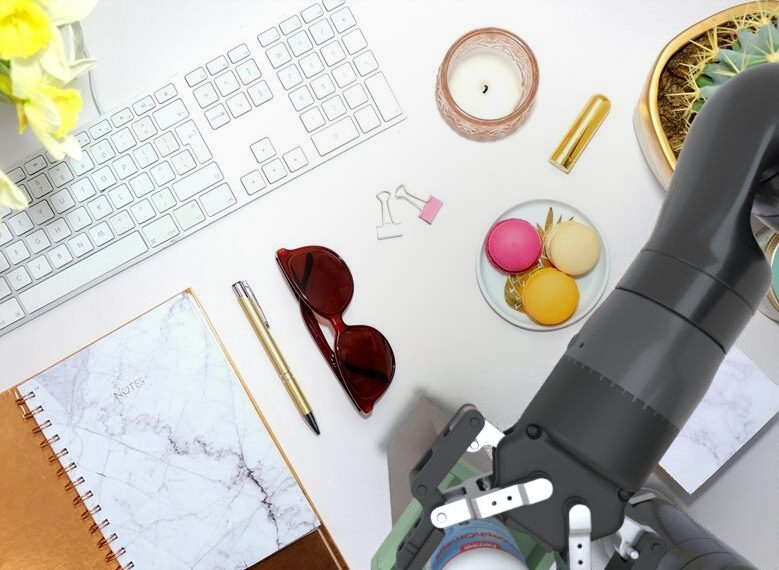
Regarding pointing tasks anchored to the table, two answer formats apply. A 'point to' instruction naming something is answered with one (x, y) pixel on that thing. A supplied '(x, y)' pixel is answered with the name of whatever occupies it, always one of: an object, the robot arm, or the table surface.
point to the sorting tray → (386, 554)
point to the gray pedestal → (419, 452)
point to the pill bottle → (477, 547)
